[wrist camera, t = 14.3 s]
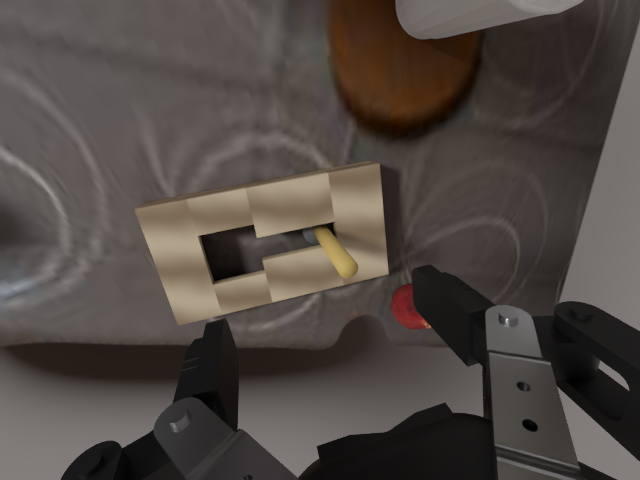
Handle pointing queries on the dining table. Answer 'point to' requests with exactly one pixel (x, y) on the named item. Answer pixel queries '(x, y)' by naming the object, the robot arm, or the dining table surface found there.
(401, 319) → the onion
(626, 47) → the dining table surface
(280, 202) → the keyhole board
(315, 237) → the headed peg
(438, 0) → the cup
